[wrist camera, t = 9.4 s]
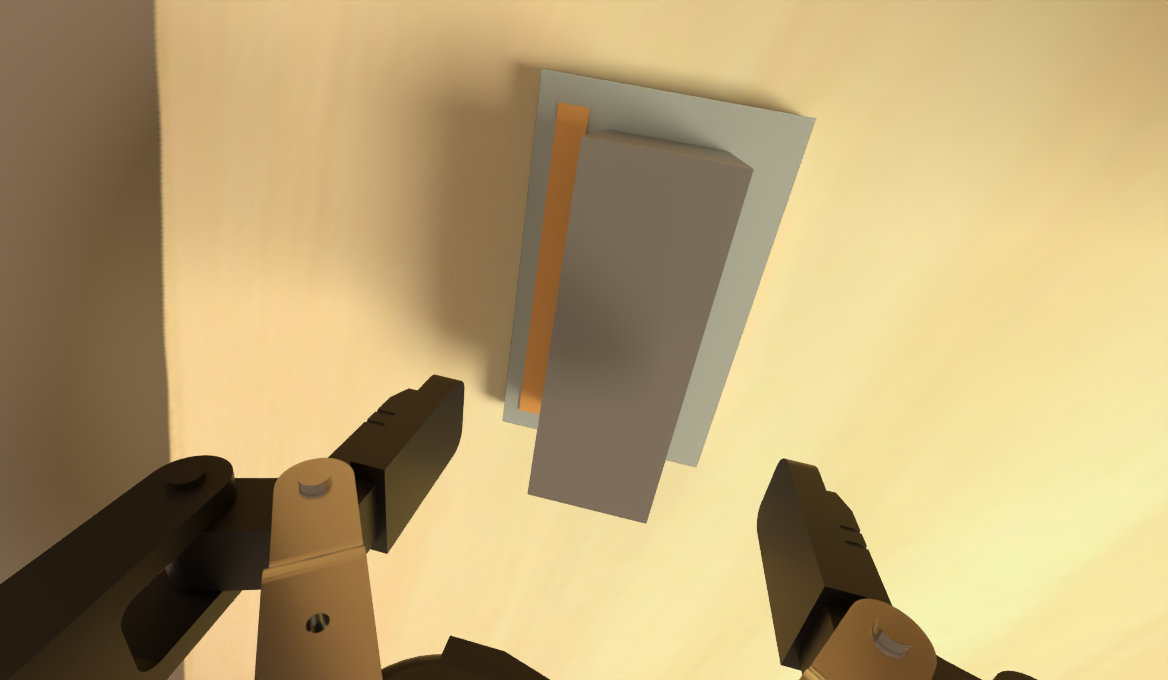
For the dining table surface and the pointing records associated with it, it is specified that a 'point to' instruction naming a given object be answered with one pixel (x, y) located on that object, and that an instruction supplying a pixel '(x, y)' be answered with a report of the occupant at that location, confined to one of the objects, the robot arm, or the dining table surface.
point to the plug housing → (631, 314)
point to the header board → (560, 124)
